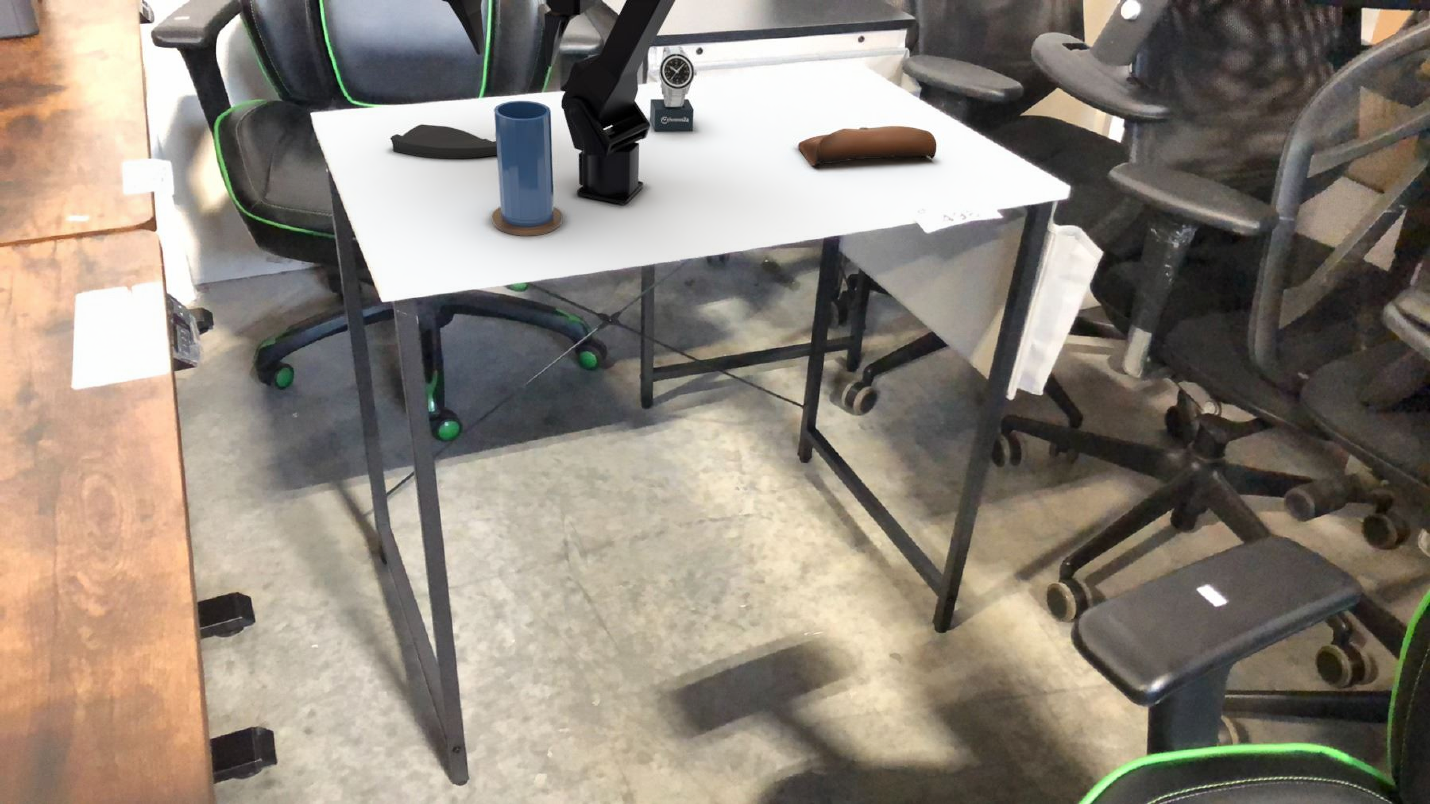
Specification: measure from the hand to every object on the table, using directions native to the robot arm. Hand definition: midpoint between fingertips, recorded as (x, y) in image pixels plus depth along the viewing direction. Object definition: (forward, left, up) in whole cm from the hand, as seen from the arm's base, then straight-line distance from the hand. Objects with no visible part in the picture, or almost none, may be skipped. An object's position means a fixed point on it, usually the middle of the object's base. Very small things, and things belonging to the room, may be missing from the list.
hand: (515, 60), depth 122 cm
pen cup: (-9, +15, -13) cm, 22 cm away
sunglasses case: (-41, -24, -13) cm, 49 cm away
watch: (-13, -22, -13) cm, 28 cm away
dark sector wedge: (+11, 0, -13) cm, 17 cm away
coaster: (-9, +15, -13) cm, 22 cm away
